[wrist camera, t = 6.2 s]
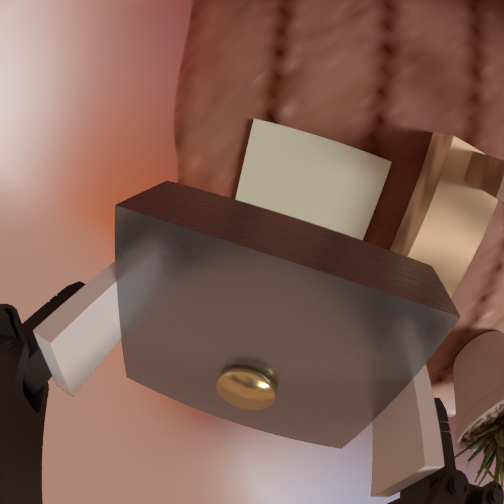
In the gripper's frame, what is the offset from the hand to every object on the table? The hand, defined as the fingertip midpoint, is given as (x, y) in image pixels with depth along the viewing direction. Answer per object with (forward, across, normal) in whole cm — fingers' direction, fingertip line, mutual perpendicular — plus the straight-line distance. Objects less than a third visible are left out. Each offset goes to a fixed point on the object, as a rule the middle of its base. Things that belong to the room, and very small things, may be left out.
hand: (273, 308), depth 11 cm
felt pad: (+16, 0, 0) cm, 16 cm away
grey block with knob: (0, 0, 0) cm, 0 cm away
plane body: (+16, +12, -1) cm, 20 cm away
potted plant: (+16, +29, -11) cm, 35 cm away
